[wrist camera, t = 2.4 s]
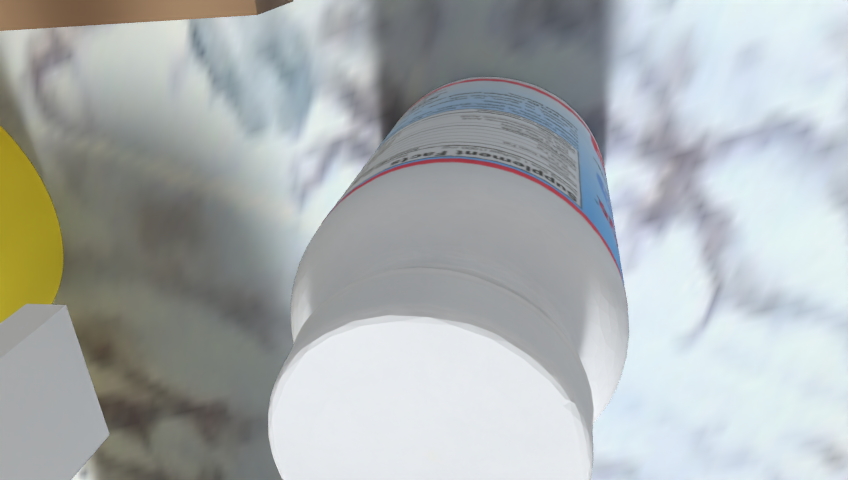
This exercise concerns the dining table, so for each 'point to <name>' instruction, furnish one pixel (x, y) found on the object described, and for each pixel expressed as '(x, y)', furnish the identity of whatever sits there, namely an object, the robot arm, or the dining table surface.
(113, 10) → the stand
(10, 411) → the robot arm
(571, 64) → the dining table surface
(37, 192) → the yellow toilet paper roll
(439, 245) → the pill bottle
